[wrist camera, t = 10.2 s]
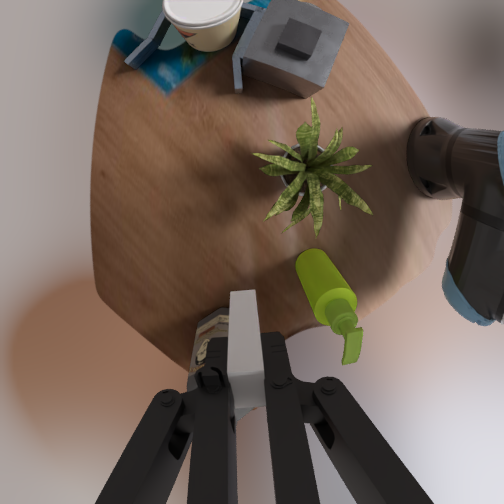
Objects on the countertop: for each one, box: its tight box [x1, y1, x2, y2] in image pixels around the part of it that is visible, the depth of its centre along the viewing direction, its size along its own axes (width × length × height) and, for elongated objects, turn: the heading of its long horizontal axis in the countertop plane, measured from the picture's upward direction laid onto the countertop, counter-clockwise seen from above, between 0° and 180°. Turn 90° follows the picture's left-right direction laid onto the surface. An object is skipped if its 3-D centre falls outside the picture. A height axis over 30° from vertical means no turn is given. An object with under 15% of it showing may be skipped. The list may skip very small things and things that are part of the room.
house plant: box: [250, 97, 373, 237], centre depth 31 cm, size 14×14×16 cm
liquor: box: [187, 307, 254, 425], centre depth 35 cm, size 9×9×30 cm
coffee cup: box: [162, 0, 243, 52], centre depth 24 cm, size 9×9×12 cm
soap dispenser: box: [295, 248, 363, 365], centre depth 36 cm, size 6×7×20 cm
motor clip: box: [124, 0, 349, 99], centre depth 26 cm, size 16×27×11 cm, turn 70°
